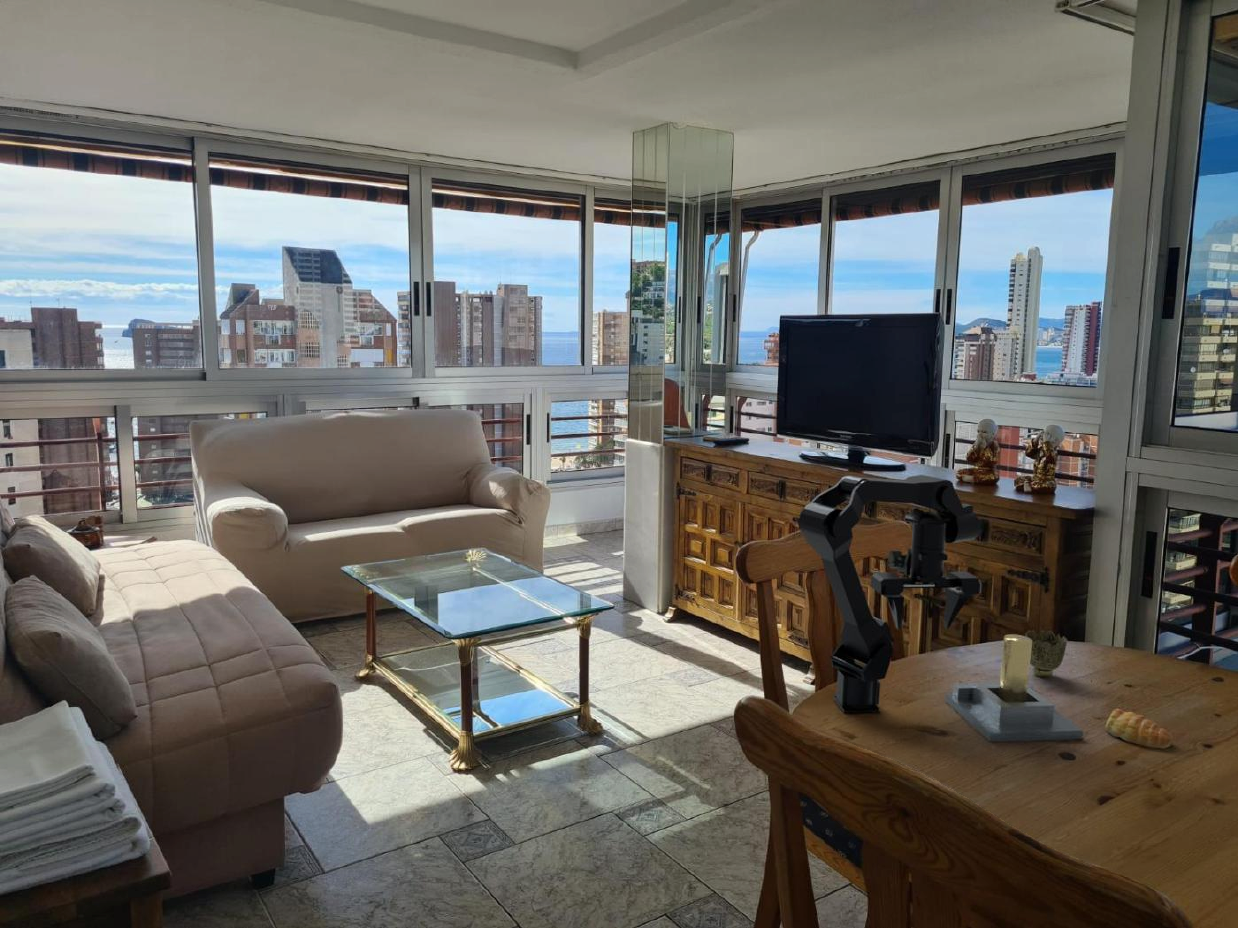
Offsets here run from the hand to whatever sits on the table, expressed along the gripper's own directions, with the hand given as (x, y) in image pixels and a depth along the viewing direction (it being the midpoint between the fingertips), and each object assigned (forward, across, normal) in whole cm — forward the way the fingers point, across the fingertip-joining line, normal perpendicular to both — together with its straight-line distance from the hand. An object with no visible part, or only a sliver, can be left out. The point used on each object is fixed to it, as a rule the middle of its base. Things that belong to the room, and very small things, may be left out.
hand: (922, 628), depth 166 cm
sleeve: (+10, -11, +13) cm, 20 cm away
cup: (+12, -28, -6) cm, 31 cm away
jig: (+12, -11, +13) cm, 21 cm away
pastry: (+12, -29, +20) cm, 37 cm away
